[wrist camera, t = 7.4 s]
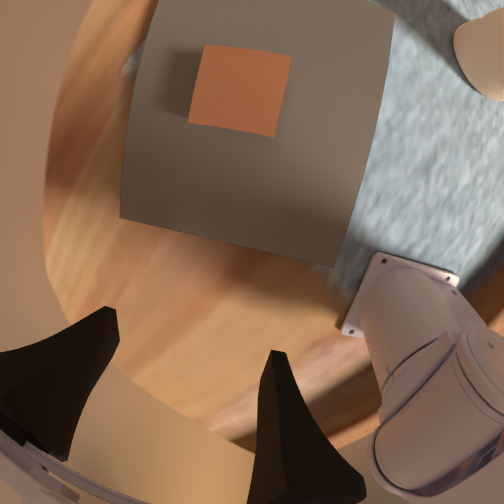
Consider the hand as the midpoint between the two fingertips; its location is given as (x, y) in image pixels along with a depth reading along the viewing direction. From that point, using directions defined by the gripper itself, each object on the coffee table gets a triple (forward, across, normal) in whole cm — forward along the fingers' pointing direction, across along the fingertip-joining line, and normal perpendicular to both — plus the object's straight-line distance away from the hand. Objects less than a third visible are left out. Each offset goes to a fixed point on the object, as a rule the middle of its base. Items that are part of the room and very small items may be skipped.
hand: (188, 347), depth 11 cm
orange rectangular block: (+10, 0, -11) cm, 15 cm away
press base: (+10, 0, -11) cm, 15 cm away
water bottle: (+10, -17, -22) cm, 29 cm away
